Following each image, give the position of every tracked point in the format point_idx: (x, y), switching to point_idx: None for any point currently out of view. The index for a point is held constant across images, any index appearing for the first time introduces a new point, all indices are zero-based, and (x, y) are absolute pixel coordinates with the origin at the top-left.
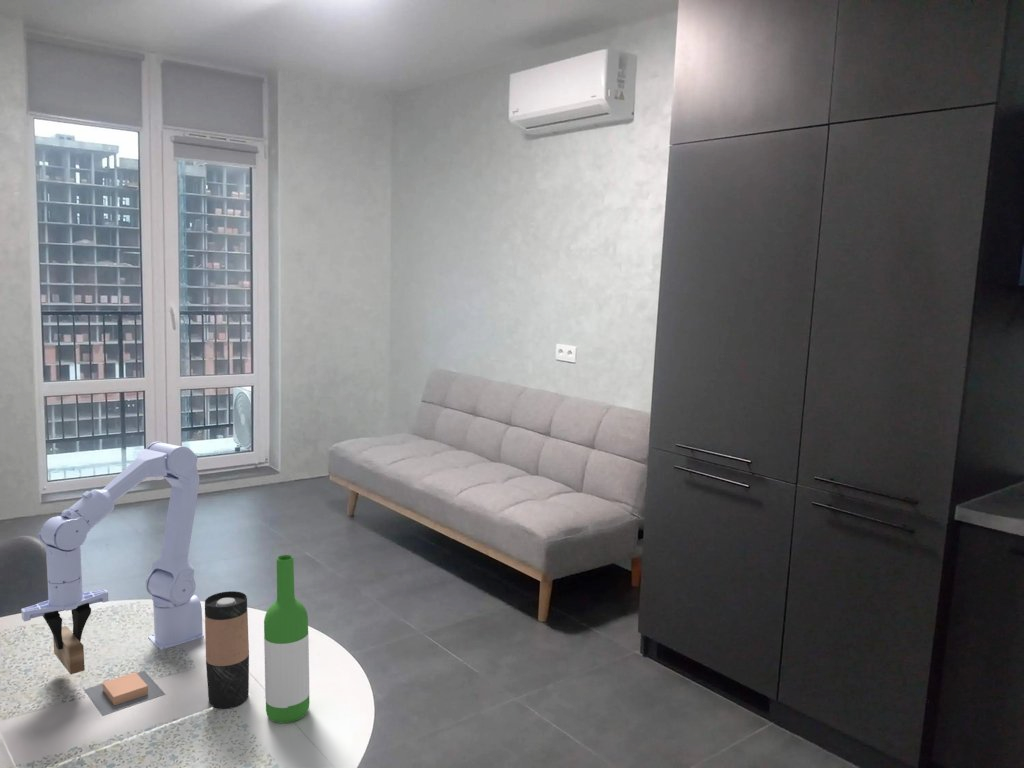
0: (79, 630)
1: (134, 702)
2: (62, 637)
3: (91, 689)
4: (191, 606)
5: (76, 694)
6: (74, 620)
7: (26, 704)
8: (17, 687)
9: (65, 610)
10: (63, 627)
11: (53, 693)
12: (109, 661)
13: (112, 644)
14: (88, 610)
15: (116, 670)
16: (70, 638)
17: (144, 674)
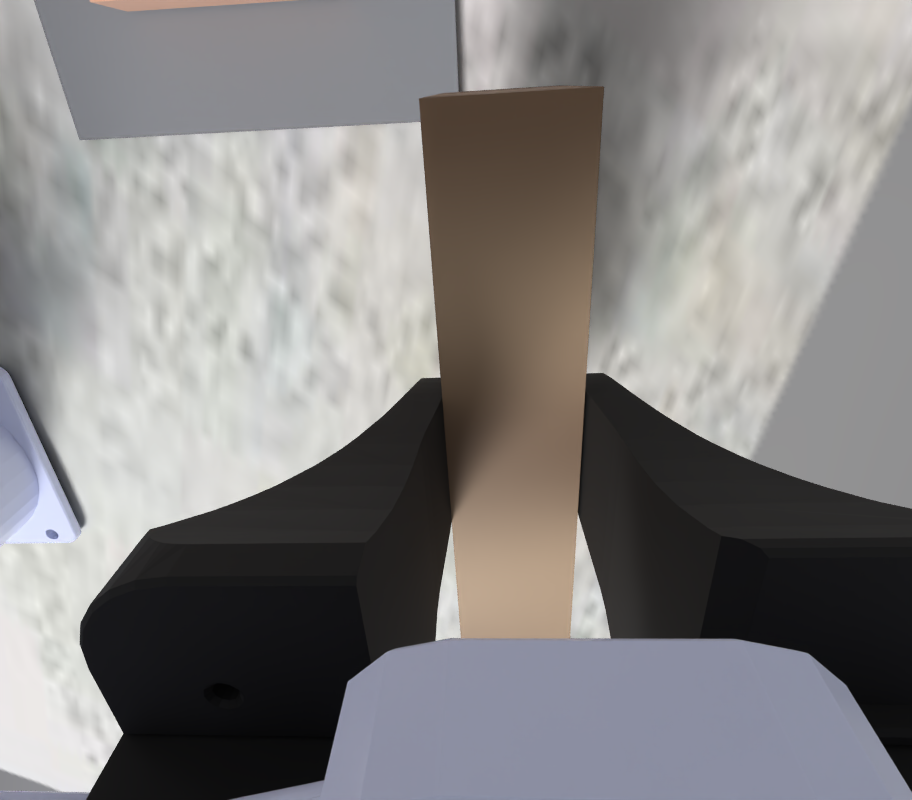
0: (402, 431)
1: None
2: (556, 492)
3: (418, 83)
4: None
5: None
6: (425, 606)
7: (774, 183)
8: (724, 421)
9: (839, 694)
10: None
11: (610, 226)
12: (278, 417)
13: None
14: (127, 585)
15: (251, 287)
16: (499, 422)
17: (75, 74)
